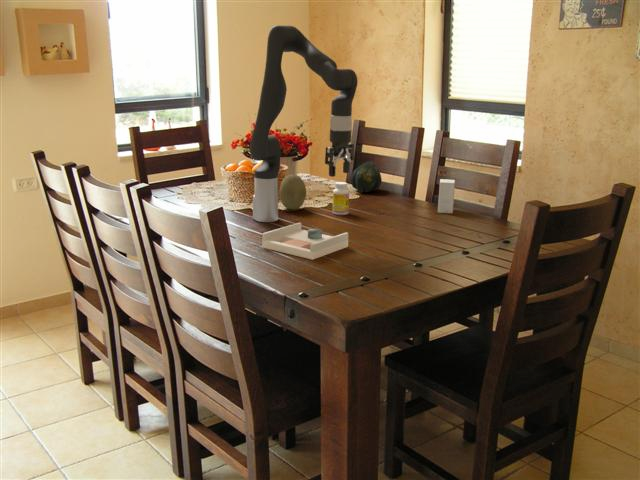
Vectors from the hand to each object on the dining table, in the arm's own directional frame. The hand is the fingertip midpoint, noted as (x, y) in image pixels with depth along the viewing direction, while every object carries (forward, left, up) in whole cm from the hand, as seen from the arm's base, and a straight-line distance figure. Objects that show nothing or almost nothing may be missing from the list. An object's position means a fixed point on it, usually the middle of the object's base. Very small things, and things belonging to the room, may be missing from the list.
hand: (339, 174), depth 251 cm
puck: (-2, -11, -21) cm, 24 cm away
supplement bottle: (-22, +33, -24) cm, 46 cm away
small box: (+9, +66, -24) cm, 70 cm away
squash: (-40, +77, -24) cm, 91 cm away
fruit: (-42, +25, -24) cm, 55 cm away
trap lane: (-2, -16, -24) cm, 28 cm away
